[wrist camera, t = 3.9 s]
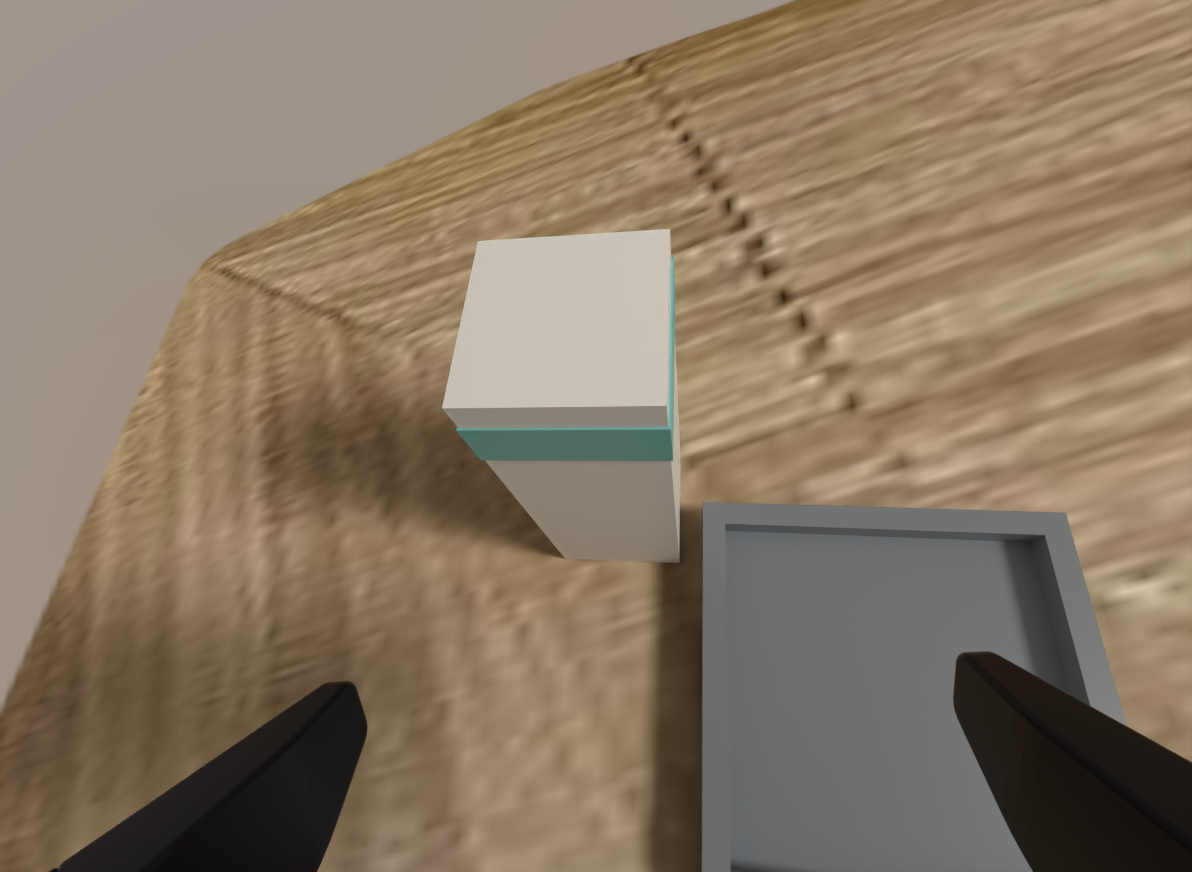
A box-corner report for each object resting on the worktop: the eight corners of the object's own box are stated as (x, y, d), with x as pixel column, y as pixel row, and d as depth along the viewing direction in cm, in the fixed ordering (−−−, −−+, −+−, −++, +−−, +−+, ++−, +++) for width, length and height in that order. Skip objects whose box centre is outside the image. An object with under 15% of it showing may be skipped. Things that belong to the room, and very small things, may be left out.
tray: (1155, 957, 15) (1200, 981, 14) (701, 891, 17) (702, 906, 16) (1041, 525, 20) (1065, 512, 19) (702, 514, 22) (703, 502, 21)
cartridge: (680, 564, 22) (668, 407, 11) (564, 560, 22) (439, 410, 11) (681, 455, 24) (672, 227, 13) (574, 454, 24) (476, 239, 13)
